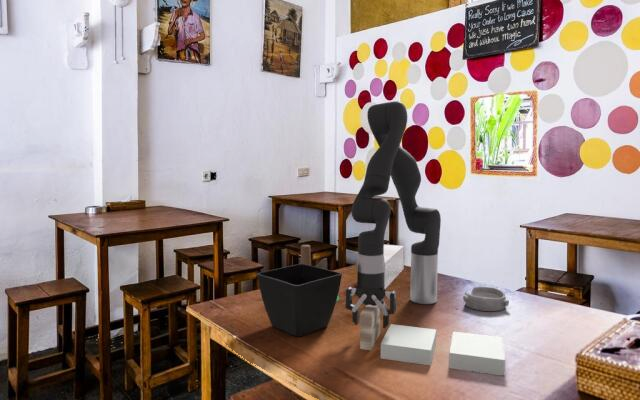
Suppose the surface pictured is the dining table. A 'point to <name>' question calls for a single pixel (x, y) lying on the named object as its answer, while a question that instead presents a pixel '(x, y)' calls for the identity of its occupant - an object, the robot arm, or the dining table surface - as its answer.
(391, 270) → the long white block
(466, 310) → the dining table surface
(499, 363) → the slotted board
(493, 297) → the dish
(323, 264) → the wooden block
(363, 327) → the beige metallic bar
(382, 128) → the robot arm
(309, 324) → the flower pot
